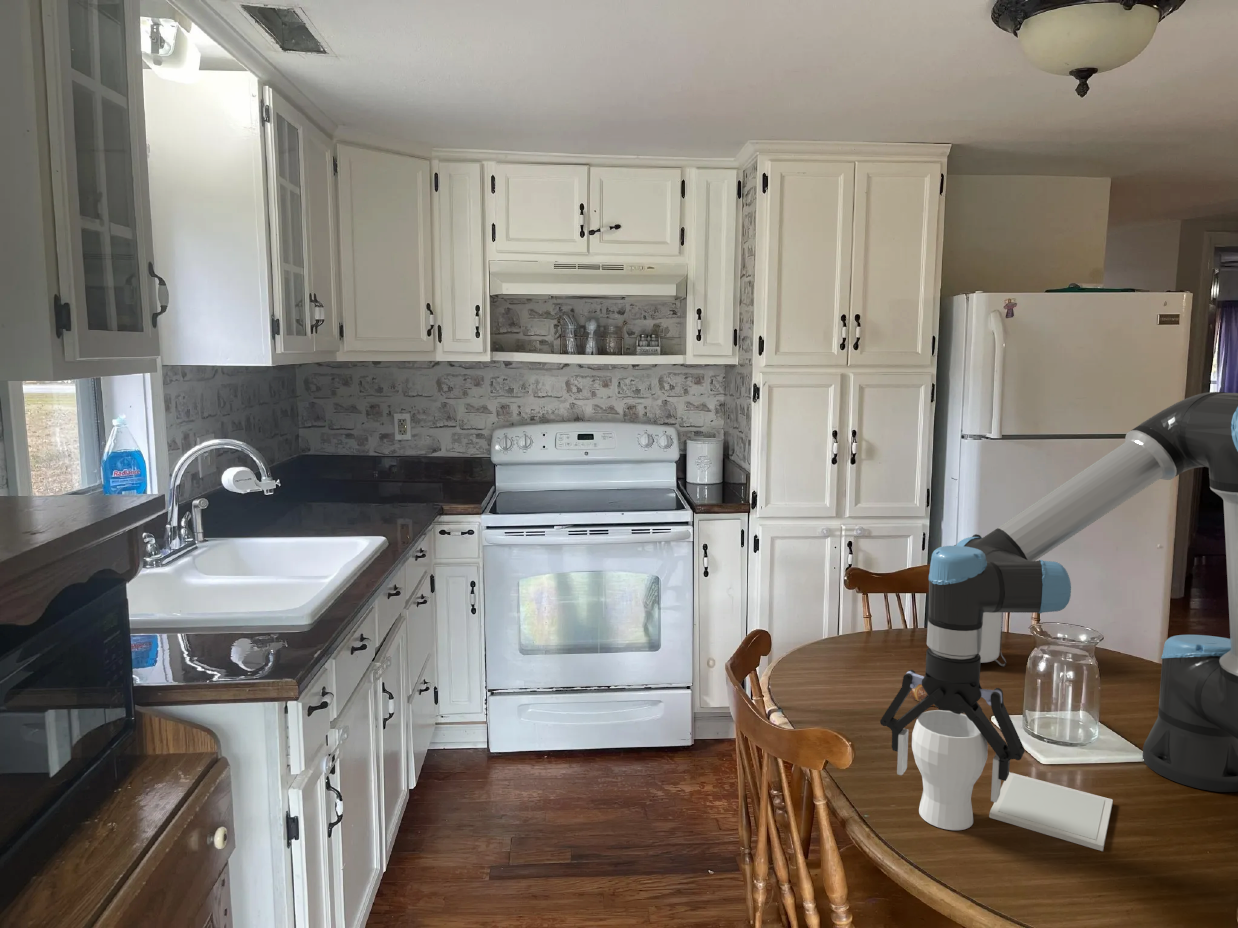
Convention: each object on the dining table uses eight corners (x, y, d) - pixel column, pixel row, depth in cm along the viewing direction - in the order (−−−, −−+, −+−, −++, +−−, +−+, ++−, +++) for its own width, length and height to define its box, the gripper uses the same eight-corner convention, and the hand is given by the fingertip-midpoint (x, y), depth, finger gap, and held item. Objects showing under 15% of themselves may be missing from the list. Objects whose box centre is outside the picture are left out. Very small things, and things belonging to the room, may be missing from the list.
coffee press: (1010, 655, 190) (1017, 531, 187) (1001, 677, 177) (1008, 544, 173) (933, 642, 199) (938, 523, 196) (919, 662, 186) (924, 535, 182)
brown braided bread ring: (894, 696, 169) (894, 679, 168) (923, 683, 175) (924, 667, 175) (947, 715, 159) (947, 697, 159) (976, 700, 166) (977, 683, 165)
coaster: (1112, 804, 126) (1112, 798, 126) (1102, 851, 114) (1103, 845, 114) (1008, 776, 135) (1008, 771, 135) (989, 817, 123) (989, 811, 123)
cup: (922, 790, 131) (926, 702, 129) (992, 813, 124) (997, 720, 122) (898, 819, 123) (902, 725, 121) (971, 845, 116) (976, 746, 114)
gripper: (1051, 660, 116) (1042, 798, 119) (878, 627, 130) (873, 751, 133) (1042, 676, 110) (1033, 821, 113) (862, 641, 124) (858, 770, 127)
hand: (947, 784), depth 123 cm, fingers open, 13 cm apart
